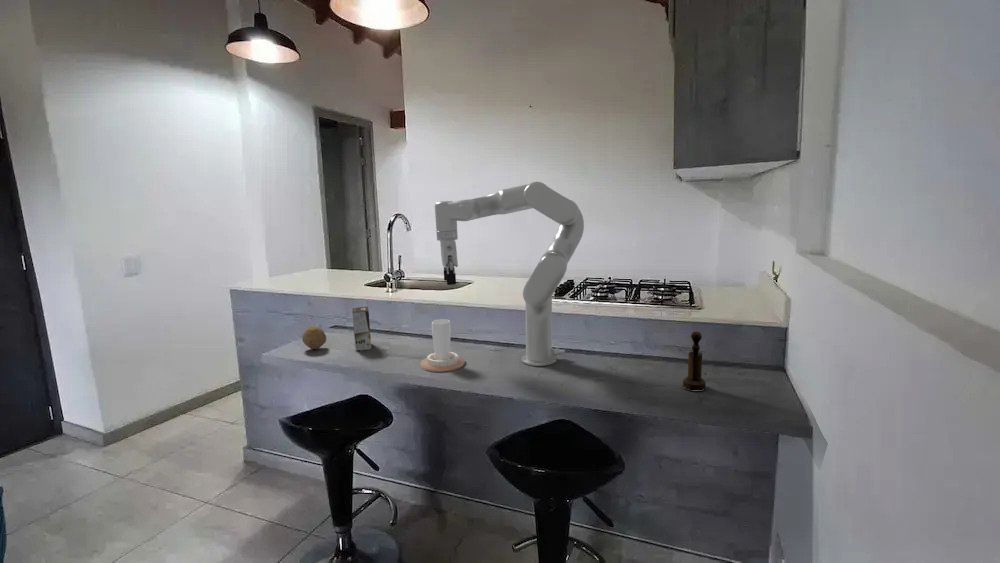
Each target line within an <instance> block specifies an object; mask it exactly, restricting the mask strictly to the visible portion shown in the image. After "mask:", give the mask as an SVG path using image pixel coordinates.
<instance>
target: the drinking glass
mask: <svg viewBox="0 0 1000 563" xmlns="http://www.w3.org/2000/svg"><path fill="white" fill-rule="evenodd" d="M451 328H452V327H451V321H450V319H445V318H443V319H442V318H441V319H439V318H438V319H434V320H432V321H431V334H432V336H431V337H432V343H433V350H434V352H433V353H435V360H439V361H441V360H448V359H450V352H451V338H452V337H451V335H452V333H451V332H452V330H451Z"/></svg>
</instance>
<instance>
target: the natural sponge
mask: <svg viewBox="0 0 1000 563" xmlns="http://www.w3.org/2000/svg"><path fill="white" fill-rule="evenodd" d="M302 342H303V344H304V345H305V346H306V347H308V348H309V349H311V350H313V349H317V350H319V349H320V348H321V347H322V346H324V344H326V342H327V336H326V333H325V332H324V330H323V329H322V328H321V327H319V326H317V325H311V326H308V327H307V328H305V330H304V331H303V333H302ZM318 348H319V349H318Z"/></svg>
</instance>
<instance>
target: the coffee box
mask: <svg viewBox="0 0 1000 563" xmlns="http://www.w3.org/2000/svg"><path fill="white" fill-rule="evenodd" d="M369 311H370V310H369V307H368V306H361V307H360V306H359V307H352V322H353V323H352V325H353V338H354V346H355V349H354V350H355V351H356V350H360V351H365V350H366V351H368V350H371V349H372V338H371V337H372V336H371V324H370V312H369Z"/></svg>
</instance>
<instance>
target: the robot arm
mask: <svg viewBox="0 0 1000 563" xmlns="http://www.w3.org/2000/svg"><path fill="white" fill-rule="evenodd" d="M532 209H534V210H536V211H537V212H538V213H541V214H542V215H544V216H545V217H547V218H548V219H551V220H552V221H553V222H555V223H556V224H559V228H558V230H557V232H556V234H555V235H554V236H553V240H552V241H551V243H550V245H549V246H548V248H547V249H546V251H545V252H544V253H543V255H542V256H541V258H540V259H539V261H538V263H537V265H536V267H535V268H534V270H533V272H532V274H531V275H530V277H529V278H528V280H527V281H526V283H525V285H524V287H523V289H522V297H523V300H524V302H525V313H524V314H525V354H524V355H523V356H522V357H521V361H522V362H523V363H524V364H526V365H528V366H534V367H545V366H550V365H553V364H555V363H556V362H557V356H565V354H566V350H565V349H560V348H553V329H552V327H553V323H552V322H553V321H552V320H553V309H552V308H553V294H554V293H555V291H556V290H557V288H558V287H559V285H560V283H561V281H562V280H563V279H564V277H565V275H566V272H567V269H568V265H569V262H570V260H571V258H572V257H573V255H574V253H575V252H576V249H577V248H578V246H579V244H580V242H581V240H582V237H583V233H584V229H585V228H584V227H585V220H584V216H583V213H582V212H581V209H580V208H579V206H578V204H577V202H575V201H573V200H571V199H569V198H567V197H565V196H564V195H562V194H560V193H558V192H557V191H555V190H554V189H552V188H550V187H549V186H548V185H546V184H545V183H543V182H542V181H533V182H530V183H528V184H522V185H518V186H514V187H509V188H505V189H501V190H498V191H497V192H494V193H492V194H487V195H483V196H479V197H475V198H474V197H473V198H469V199H461V200H455V201H453V200H442V201H437V202H435V204H434V213H435V214H434V215H435V230H436V241H439V243H440V245H439V246H440V256H441V264H442V266H443V281H445V282H446V285H447V286H451V285H457V274H456V271H455V267H456V268H458V266H459V264H458V253H457V252H458V251H457V244H456V242H457V240H458V239H459V238H458V237H459V236H458V222H469V221H473V220H478V219H482V218H486V217H493V216H497V215H507V214H508V215H509V214H513V213H516V212H521V211H527V210H532Z"/></svg>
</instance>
